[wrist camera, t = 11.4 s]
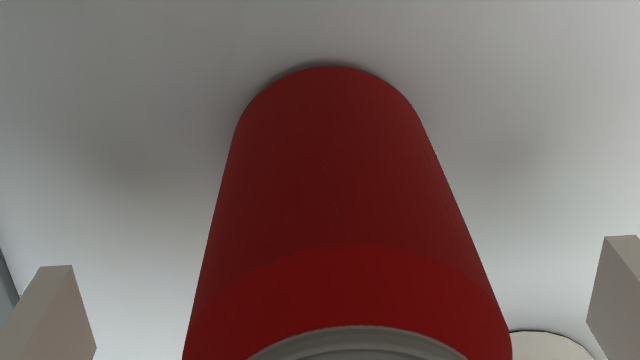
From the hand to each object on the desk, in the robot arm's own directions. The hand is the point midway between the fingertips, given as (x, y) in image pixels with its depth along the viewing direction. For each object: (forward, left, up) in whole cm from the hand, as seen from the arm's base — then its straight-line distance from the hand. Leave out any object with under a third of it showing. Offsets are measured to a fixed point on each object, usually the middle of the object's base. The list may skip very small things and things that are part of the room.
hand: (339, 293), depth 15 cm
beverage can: (0, 0, -7) cm, 7 cm away
